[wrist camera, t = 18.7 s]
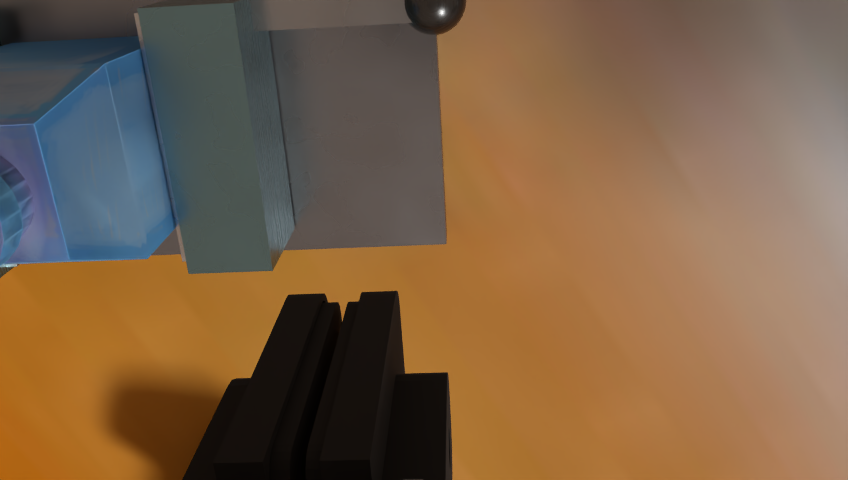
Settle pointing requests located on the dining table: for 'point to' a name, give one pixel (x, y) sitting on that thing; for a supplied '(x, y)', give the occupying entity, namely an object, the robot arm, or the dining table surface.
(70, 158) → the perfume bottle
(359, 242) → the vise bed
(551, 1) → the dining table surface
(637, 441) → the dining table surface
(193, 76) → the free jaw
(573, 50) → the dining table surface
